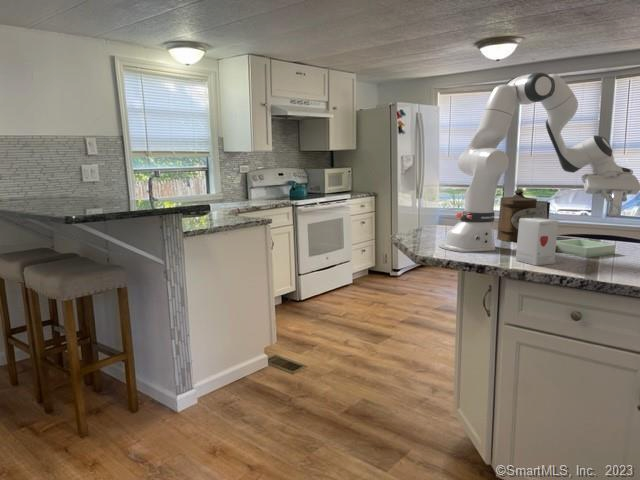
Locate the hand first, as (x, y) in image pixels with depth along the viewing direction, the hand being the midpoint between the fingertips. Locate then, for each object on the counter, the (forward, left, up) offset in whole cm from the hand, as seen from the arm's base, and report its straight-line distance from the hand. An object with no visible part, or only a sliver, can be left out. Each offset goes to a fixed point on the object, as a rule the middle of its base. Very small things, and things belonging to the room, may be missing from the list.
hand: (617, 200), depth 184 cm
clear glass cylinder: (0, +1, -6) cm, 6 cm away
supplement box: (-49, -5, -19) cm, 53 cm away
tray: (-18, 0, -19) cm, 26 cm away
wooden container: (-19, +31, -19) cm, 41 cm away
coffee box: (-3, +33, -19) cm, 38 cm away
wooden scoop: (-31, +5, -19) cm, 37 cm away
